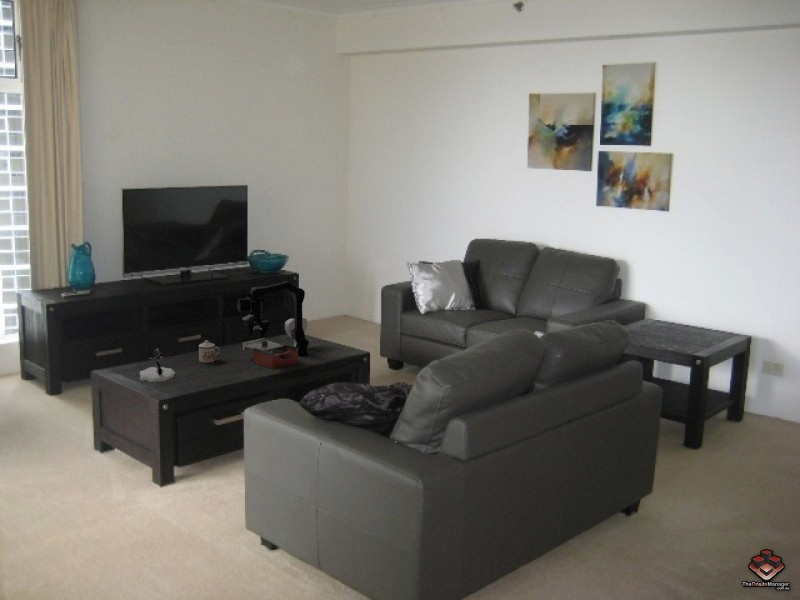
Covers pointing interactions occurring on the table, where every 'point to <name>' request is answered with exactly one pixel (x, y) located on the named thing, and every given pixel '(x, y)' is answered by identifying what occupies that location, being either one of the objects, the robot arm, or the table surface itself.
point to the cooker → (276, 356)
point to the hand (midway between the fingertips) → (256, 336)
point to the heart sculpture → (290, 326)
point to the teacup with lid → (207, 352)
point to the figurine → (156, 371)
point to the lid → (261, 345)
